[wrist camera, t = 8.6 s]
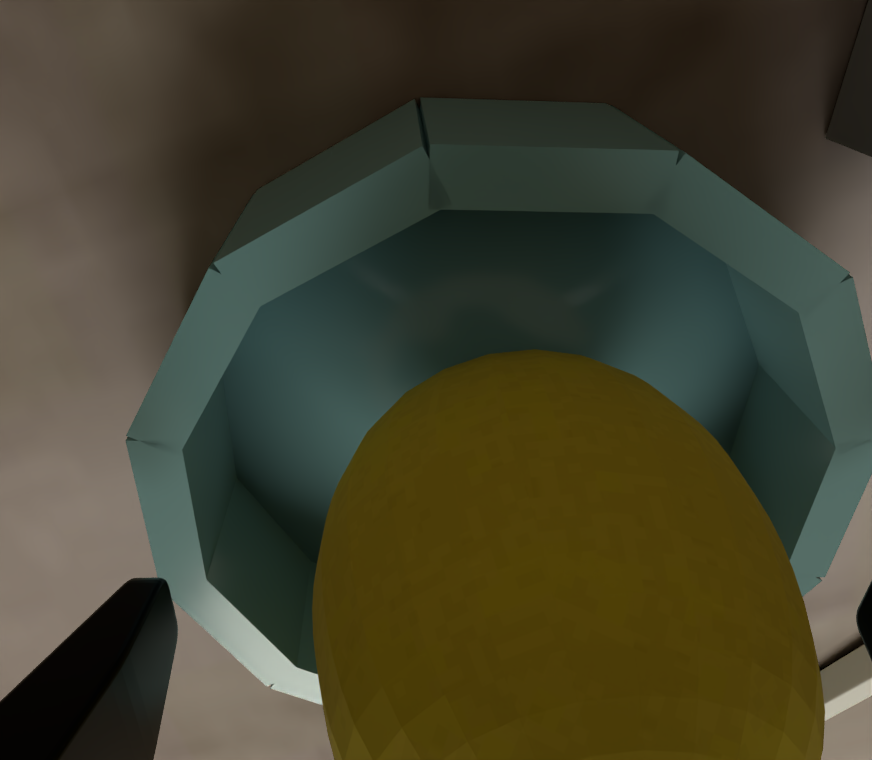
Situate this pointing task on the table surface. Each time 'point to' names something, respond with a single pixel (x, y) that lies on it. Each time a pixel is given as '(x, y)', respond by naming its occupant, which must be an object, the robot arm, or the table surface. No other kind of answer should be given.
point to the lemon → (556, 581)
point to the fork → (847, 682)
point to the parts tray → (856, 95)
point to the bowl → (481, 339)
